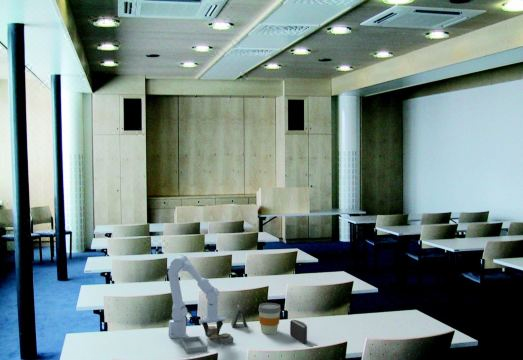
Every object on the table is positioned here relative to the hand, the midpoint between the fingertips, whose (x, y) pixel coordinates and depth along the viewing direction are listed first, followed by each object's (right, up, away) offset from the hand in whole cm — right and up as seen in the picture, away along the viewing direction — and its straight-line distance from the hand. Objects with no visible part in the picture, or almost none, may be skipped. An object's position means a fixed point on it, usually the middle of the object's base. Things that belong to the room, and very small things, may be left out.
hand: (212, 335), depth 327 cm
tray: (-9, -2, -14) cm, 16 cm away
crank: (+4, +1, -7) cm, 8 cm away
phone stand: (+14, -1, +22) cm, 26 cm away
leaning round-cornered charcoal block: (+47, -3, -1) cm, 47 cm away
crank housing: (+6, -2, -2) cm, 7 cm away
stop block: (0, -2, 0) cm, 2 cm away
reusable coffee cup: (+32, -2, +13) cm, 34 cm away
